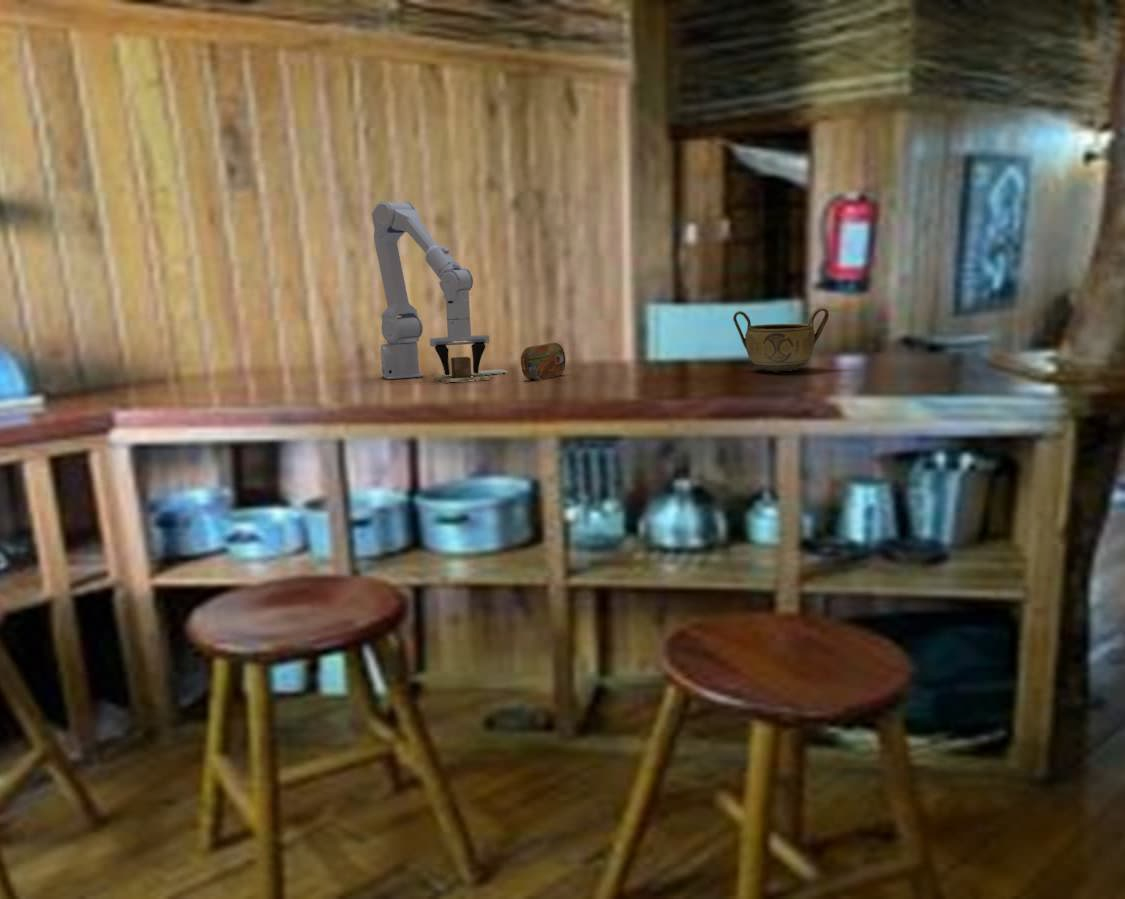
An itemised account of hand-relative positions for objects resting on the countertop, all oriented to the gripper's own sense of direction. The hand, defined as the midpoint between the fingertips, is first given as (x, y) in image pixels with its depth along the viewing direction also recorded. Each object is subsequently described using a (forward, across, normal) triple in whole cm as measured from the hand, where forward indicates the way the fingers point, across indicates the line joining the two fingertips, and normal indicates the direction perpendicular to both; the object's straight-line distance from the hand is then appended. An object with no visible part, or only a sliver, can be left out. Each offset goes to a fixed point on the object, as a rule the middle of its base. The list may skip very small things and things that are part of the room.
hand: (461, 374), depth 244 cm
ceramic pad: (+1, +10, +8) cm, 13 cm away
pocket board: (+1, 0, 0) cm, 1 cm away
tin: (+2, +18, -9) cm, 21 cm away
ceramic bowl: (+2, +72, -31) cm, 78 cm away
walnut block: (+2, 0, 0) cm, 2 cm away
